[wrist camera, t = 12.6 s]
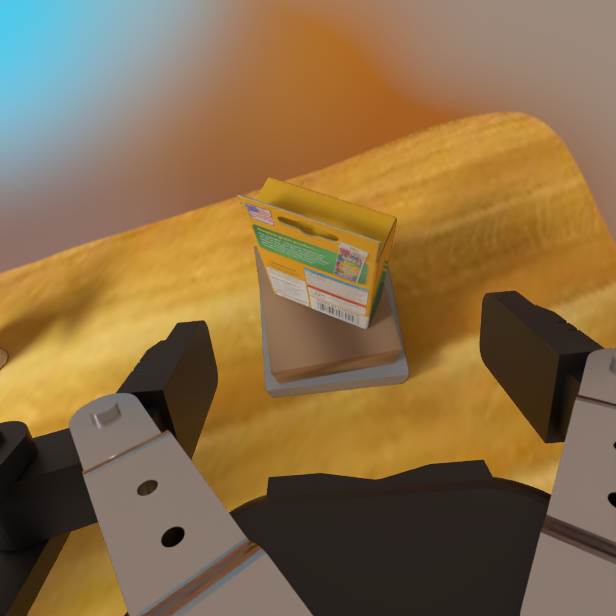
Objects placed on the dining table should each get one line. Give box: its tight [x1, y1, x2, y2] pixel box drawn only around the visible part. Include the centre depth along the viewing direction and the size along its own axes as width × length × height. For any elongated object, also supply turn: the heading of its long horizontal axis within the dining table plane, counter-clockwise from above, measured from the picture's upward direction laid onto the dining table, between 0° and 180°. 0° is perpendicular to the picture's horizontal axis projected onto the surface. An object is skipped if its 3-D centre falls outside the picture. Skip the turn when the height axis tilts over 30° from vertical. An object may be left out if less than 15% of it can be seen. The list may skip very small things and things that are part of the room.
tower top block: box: [254, 246, 402, 384], centre depth 31 cm, size 9×10×4 cm
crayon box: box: [238, 178, 397, 329], centre depth 24 cm, size 7×3×12 cm, turn 66°
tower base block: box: [260, 266, 409, 398], centre depth 35 cm, size 11×11×4 cm
